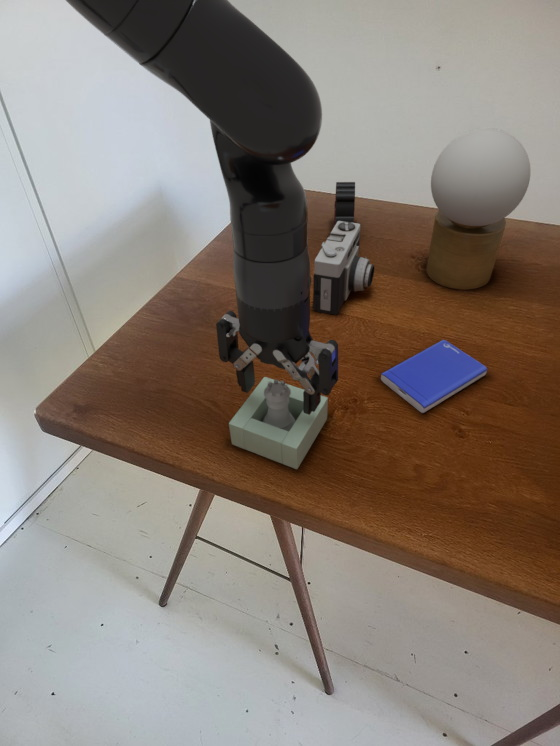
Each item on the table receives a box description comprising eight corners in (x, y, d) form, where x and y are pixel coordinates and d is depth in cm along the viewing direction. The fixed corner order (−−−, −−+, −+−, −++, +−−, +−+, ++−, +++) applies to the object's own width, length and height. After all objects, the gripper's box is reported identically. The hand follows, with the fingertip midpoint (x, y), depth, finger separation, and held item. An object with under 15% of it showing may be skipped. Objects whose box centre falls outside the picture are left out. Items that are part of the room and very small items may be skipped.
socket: (231, 444, 66) (228, 423, 63) (266, 397, 72) (264, 376, 69) (297, 470, 62) (296, 448, 60) (327, 418, 68) (328, 397, 66)
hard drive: (443, 338, 77) (381, 372, 72) (488, 367, 72) (424, 406, 67) (441, 346, 78) (380, 380, 73) (485, 375, 73) (423, 414, 68)
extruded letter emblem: (352, 260, 97) (356, 203, 90) (334, 260, 98) (336, 203, 90) (350, 216, 110) (353, 163, 103) (334, 216, 111) (336, 164, 103)
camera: (359, 320, 84) (364, 265, 77) (311, 311, 86) (311, 257, 79) (378, 275, 93) (383, 223, 86) (334, 268, 96) (336, 217, 89)
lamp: (494, 309, 84) (541, 152, 67) (407, 294, 89) (431, 142, 72) (502, 263, 95) (544, 116, 78) (424, 251, 99) (448, 109, 82)
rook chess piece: (264, 417, 69) (260, 373, 63) (297, 419, 68) (297, 374, 63) (260, 443, 66) (255, 399, 60) (295, 445, 65) (294, 401, 60)
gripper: (192, 287, 52) (212, 400, 63) (323, 323, 47) (320, 439, 58) (231, 252, 57) (243, 363, 68) (353, 281, 52) (345, 396, 63)
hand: (278, 398), depth 63 cm, fingers open, 8 cm apart
